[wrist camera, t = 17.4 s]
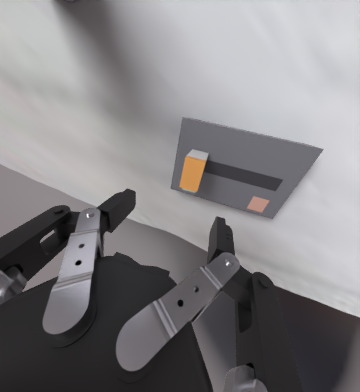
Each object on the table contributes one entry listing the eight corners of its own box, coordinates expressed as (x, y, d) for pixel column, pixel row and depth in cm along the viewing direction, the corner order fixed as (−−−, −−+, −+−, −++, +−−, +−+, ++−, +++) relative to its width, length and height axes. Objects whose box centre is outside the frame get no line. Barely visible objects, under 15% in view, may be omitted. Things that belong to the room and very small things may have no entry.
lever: (186, 174, 27) (179, 187, 22) (192, 149, 25) (185, 157, 20) (201, 178, 27) (196, 192, 22) (208, 153, 24) (205, 162, 19)
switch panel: (175, 181, 34) (170, 188, 30) (187, 117, 26) (182, 117, 23) (266, 207, 31) (272, 218, 28) (308, 144, 24) (323, 149, 20)
